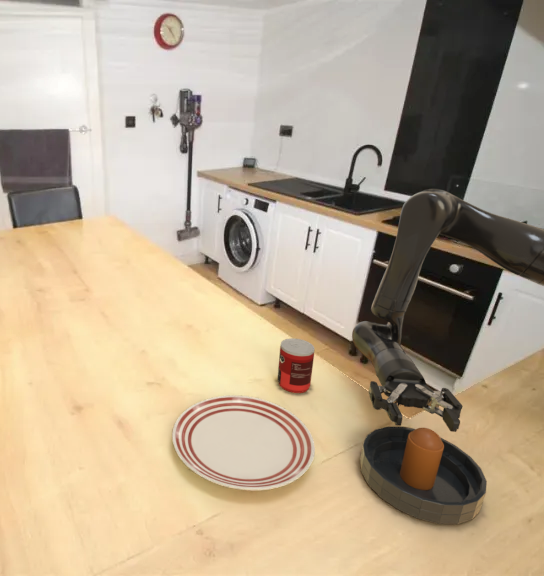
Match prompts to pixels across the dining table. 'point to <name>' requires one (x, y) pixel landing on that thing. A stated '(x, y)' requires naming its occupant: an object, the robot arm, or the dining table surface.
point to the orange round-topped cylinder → (421, 458)
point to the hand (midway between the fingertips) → (427, 424)
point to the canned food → (295, 365)
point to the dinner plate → (243, 442)
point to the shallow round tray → (423, 503)
